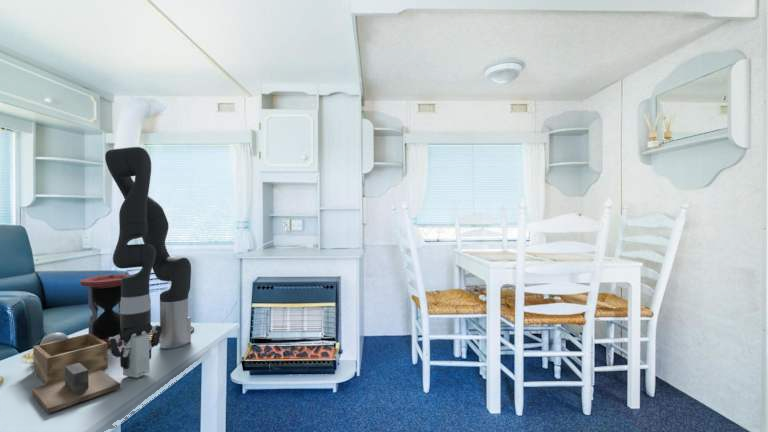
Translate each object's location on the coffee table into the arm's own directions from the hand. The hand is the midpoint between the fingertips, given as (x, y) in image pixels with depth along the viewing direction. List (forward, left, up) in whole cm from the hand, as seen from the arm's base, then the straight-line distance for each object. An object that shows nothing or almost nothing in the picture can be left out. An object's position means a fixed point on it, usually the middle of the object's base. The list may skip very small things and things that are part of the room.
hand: (136, 364), depth 103 cm
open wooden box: (+10, -22, -3) cm, 25 cm away
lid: (+13, -2, -3) cm, 14 cm away
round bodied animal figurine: (+9, -38, -4) cm, 39 cm away
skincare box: (0, 0, -3) cm, 3 cm away
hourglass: (-6, -41, -4) cm, 42 cm away
